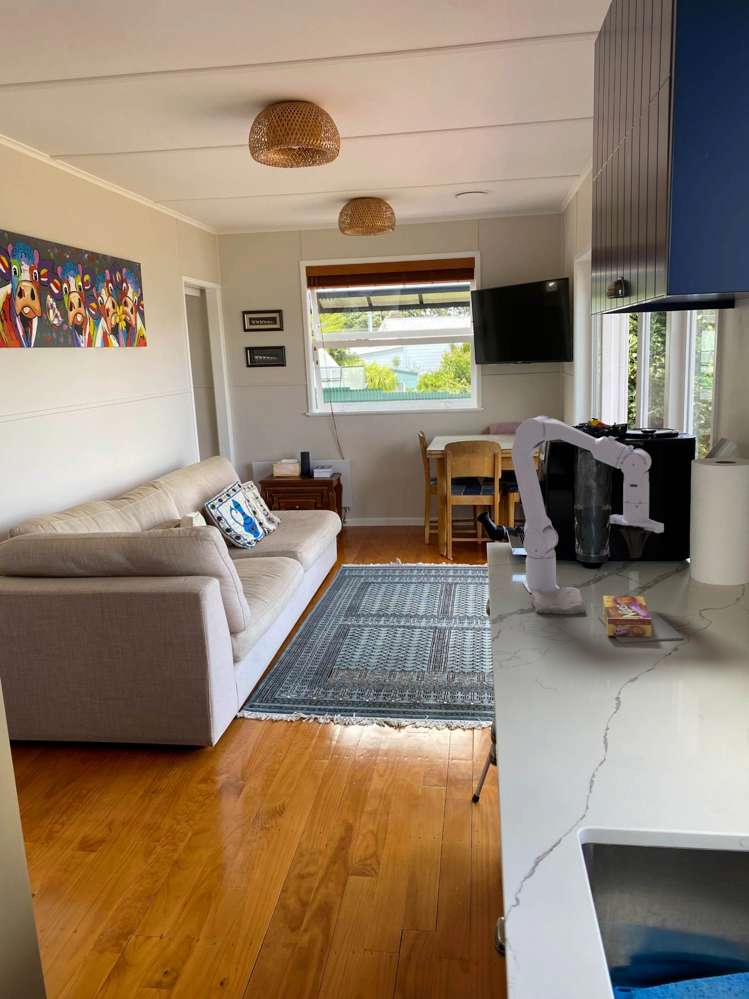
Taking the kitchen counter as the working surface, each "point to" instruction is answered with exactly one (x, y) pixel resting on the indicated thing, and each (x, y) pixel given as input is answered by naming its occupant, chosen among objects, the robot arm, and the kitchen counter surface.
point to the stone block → (558, 601)
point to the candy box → (626, 616)
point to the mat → (652, 631)
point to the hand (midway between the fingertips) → (635, 557)
